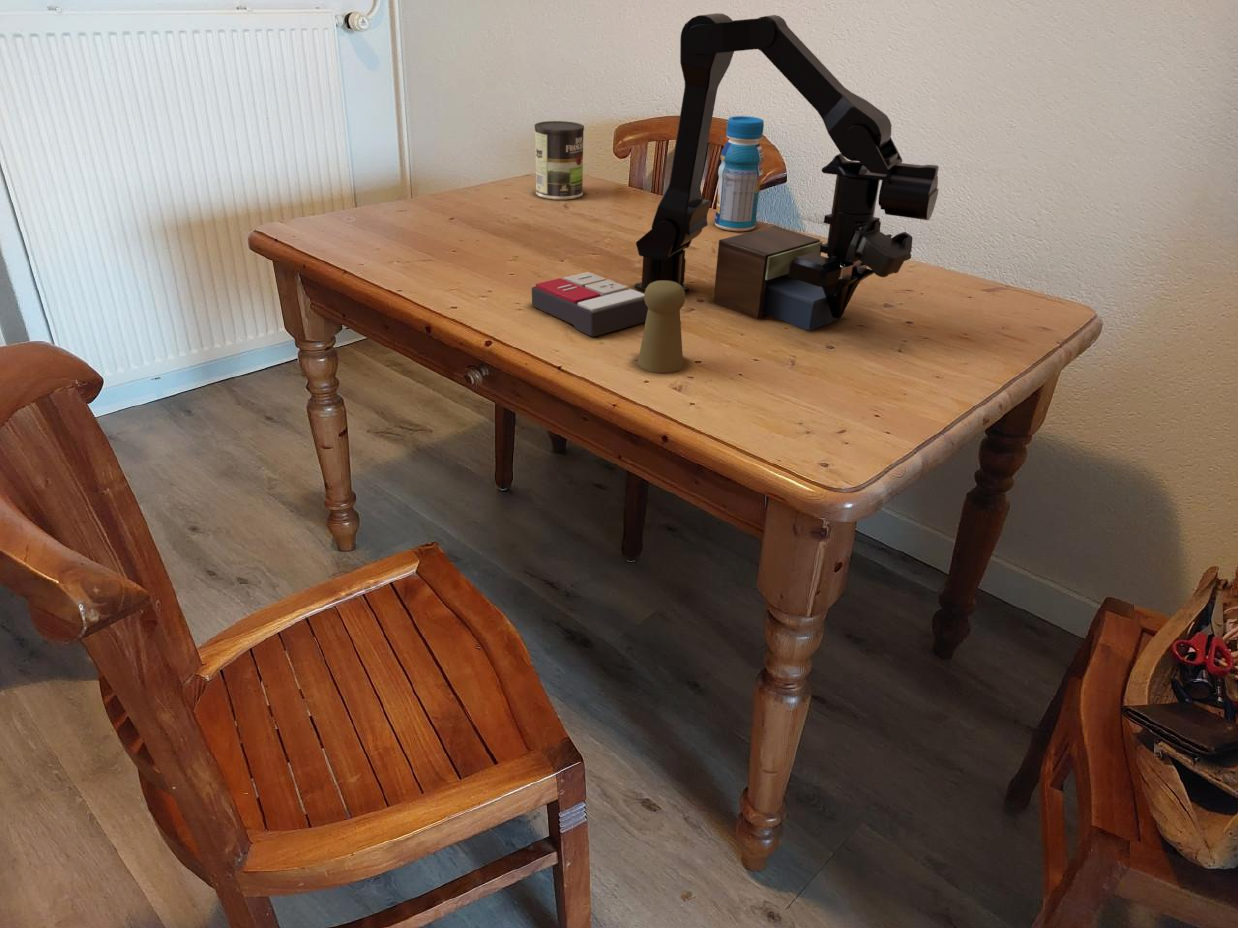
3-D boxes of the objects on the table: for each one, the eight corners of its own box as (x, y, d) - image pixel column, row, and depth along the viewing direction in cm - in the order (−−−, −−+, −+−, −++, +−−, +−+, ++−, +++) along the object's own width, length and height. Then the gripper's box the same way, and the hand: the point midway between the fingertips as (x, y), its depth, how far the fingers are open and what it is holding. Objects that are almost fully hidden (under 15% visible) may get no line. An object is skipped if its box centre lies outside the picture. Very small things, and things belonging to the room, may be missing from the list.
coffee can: (592, 193, 190) (593, 125, 183) (565, 202, 183) (566, 132, 175) (553, 185, 194) (552, 118, 187) (525, 194, 187) (524, 125, 179)
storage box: (808, 331, 127) (813, 301, 124) (744, 306, 134) (748, 278, 132) (842, 318, 132) (847, 289, 129) (778, 295, 139) (782, 267, 137)
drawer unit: (757, 319, 130) (765, 255, 125) (712, 302, 136) (718, 240, 131) (810, 300, 138) (820, 239, 133) (766, 285, 143) (774, 225, 138)
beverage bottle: (729, 234, 167) (741, 124, 157) (705, 223, 173) (714, 116, 163) (765, 229, 171) (778, 122, 160) (739, 218, 177) (750, 114, 166)
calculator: (588, 269, 136) (652, 292, 126) (588, 295, 138) (651, 320, 128) (529, 282, 130) (592, 308, 119) (531, 310, 132) (592, 337, 122)
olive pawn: (635, 354, 118) (639, 275, 112) (679, 353, 118) (685, 275, 113) (640, 373, 113) (644, 291, 107) (686, 373, 113) (693, 292, 107)
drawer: (773, 282, 126) (776, 259, 124) (722, 264, 132) (724, 242, 130) (825, 266, 133) (829, 244, 131) (775, 249, 139) (777, 228, 138)
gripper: (863, 234, 109) (845, 350, 117) (942, 210, 120) (920, 318, 128) (792, 216, 116) (779, 326, 124) (873, 195, 127) (856, 298, 135)
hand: (836, 317), depth 127 cm, fingers closed, pressing on storage box
